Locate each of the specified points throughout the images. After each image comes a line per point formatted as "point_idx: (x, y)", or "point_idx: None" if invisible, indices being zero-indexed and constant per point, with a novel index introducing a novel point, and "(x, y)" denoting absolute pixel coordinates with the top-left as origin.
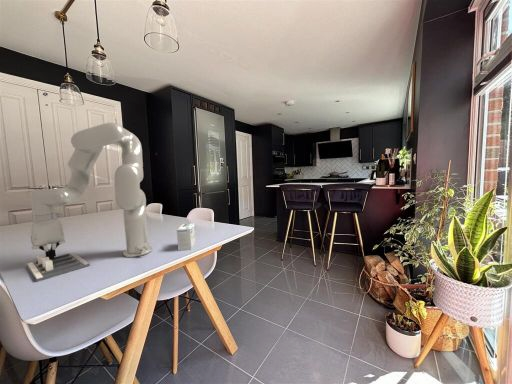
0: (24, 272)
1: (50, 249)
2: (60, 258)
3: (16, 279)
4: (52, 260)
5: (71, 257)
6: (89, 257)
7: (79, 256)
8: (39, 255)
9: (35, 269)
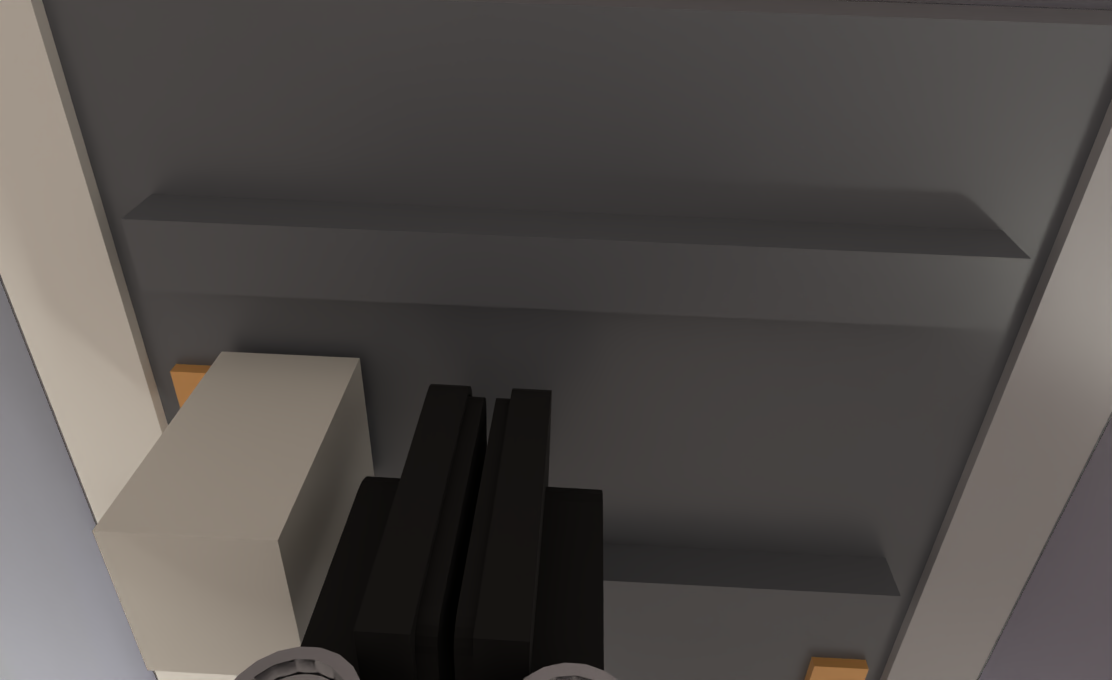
0: (35, 450)
1: (476, 675)
2: (718, 373)
3: (7, 661)
4: (534, 354)
5: (859, 618)
6: (1102, 657)
7: (1008, 615)
8: (159, 553)
9: None
